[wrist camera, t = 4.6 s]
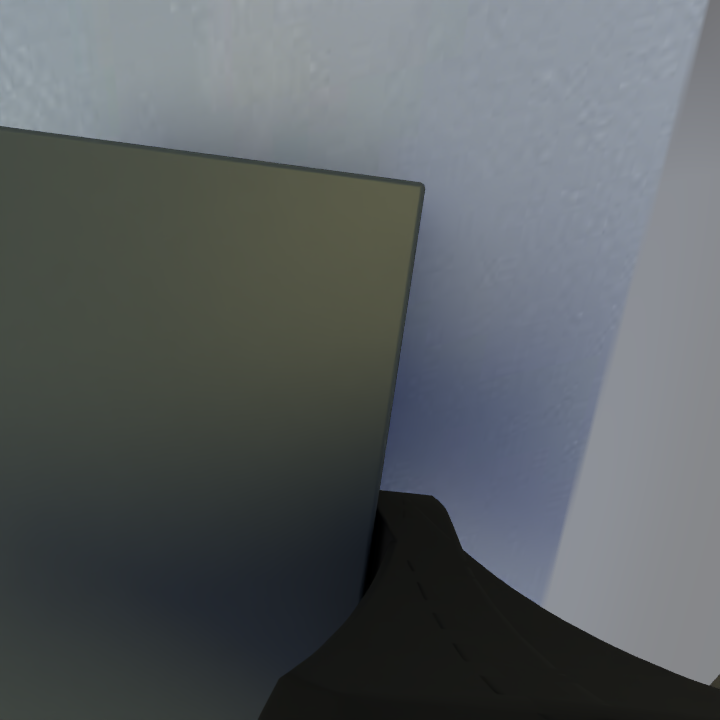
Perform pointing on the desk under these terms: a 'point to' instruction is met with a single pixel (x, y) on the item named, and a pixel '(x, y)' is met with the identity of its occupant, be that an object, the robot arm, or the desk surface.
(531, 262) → the desk surface
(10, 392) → the dark grey storage bin
